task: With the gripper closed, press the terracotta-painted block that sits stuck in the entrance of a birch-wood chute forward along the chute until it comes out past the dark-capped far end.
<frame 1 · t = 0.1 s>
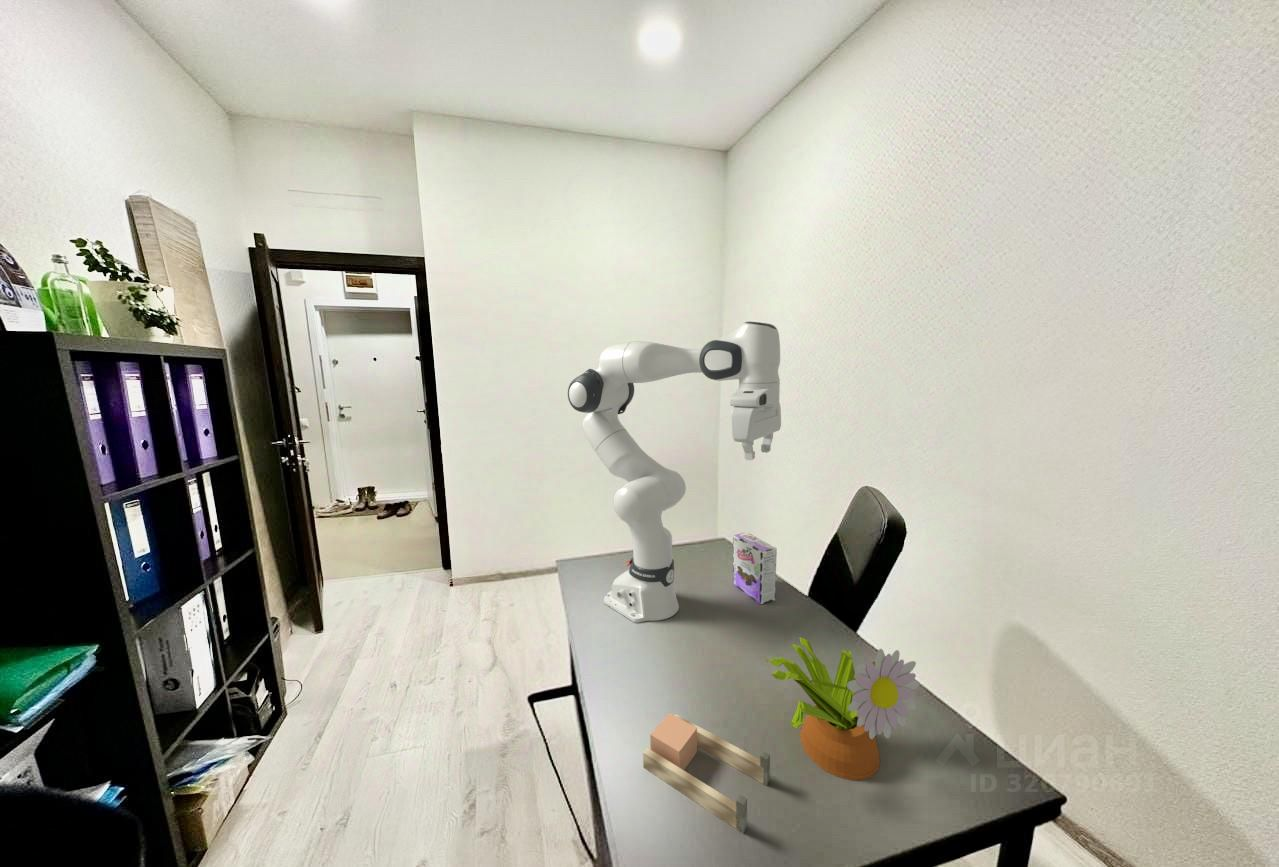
hand: (758, 455, 101), 48 cm above the table, fingers open, 8 cm apart
block: (674, 755, 79), on the table
candy box: (753, 592, 134), on the table
chute: (703, 772, 75), on the table
decorative plant: (839, 740, 81), on the table
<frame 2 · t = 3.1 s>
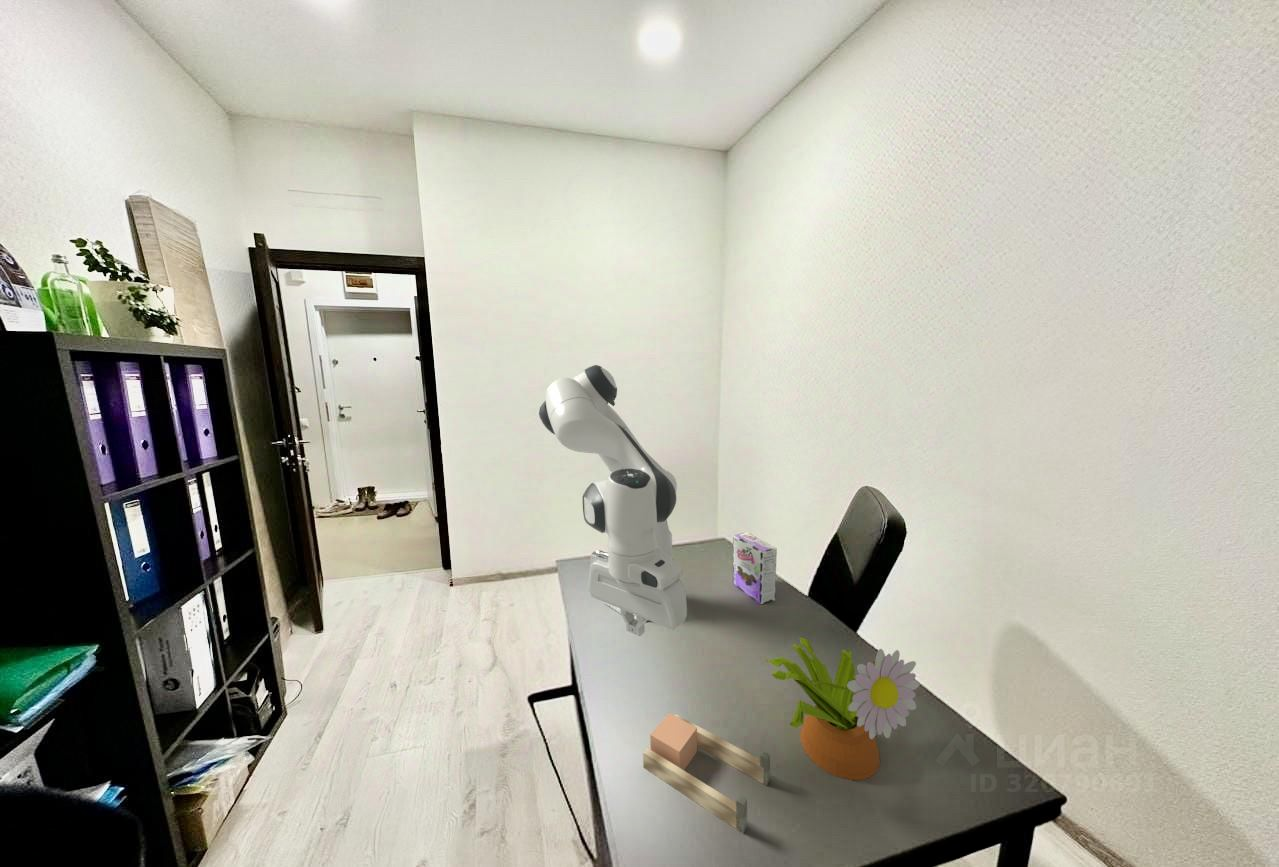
hand: (635, 632, 80), 21 cm above the table, fingers closed
nothing on the table moved.
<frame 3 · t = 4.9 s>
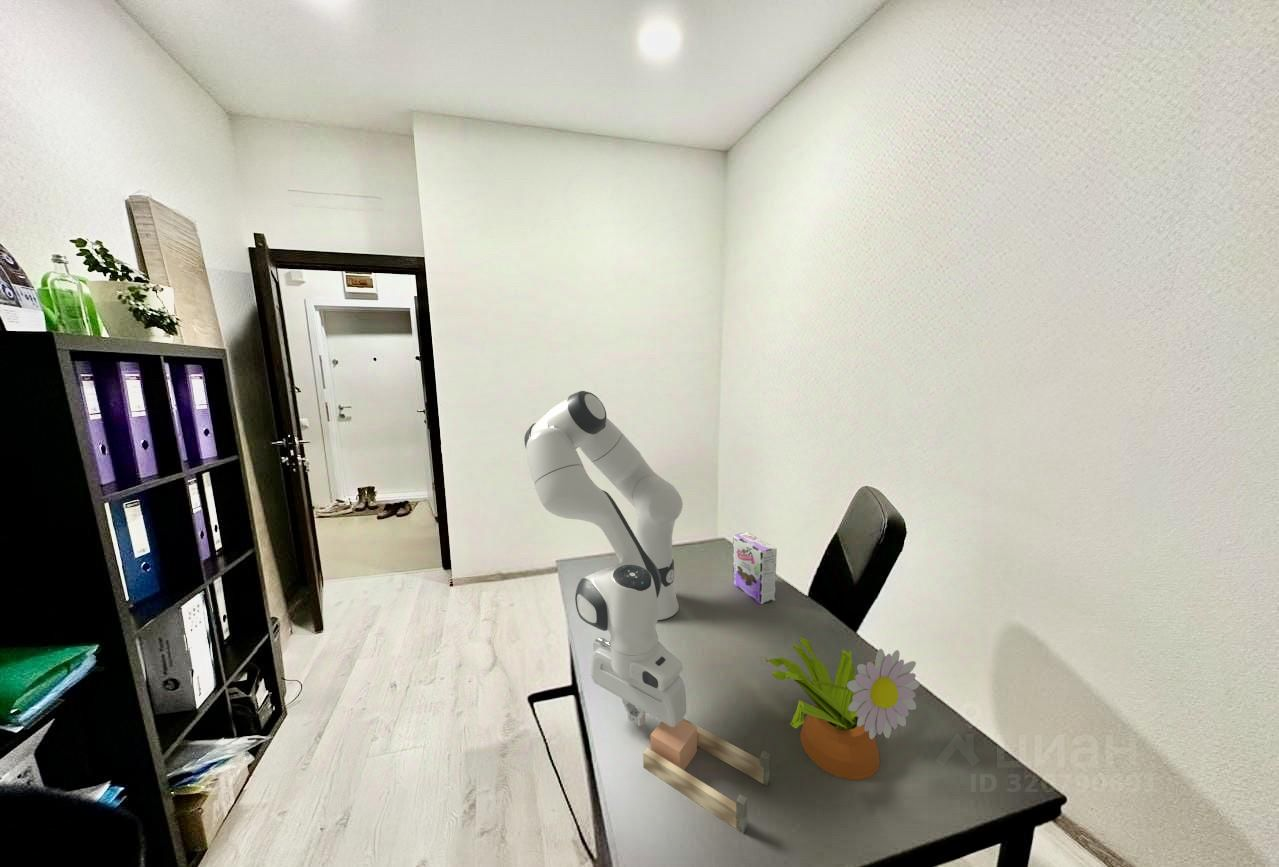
hand: (636, 720, 83), 3 cm above the table, fingers closed
nothing on the table moved.
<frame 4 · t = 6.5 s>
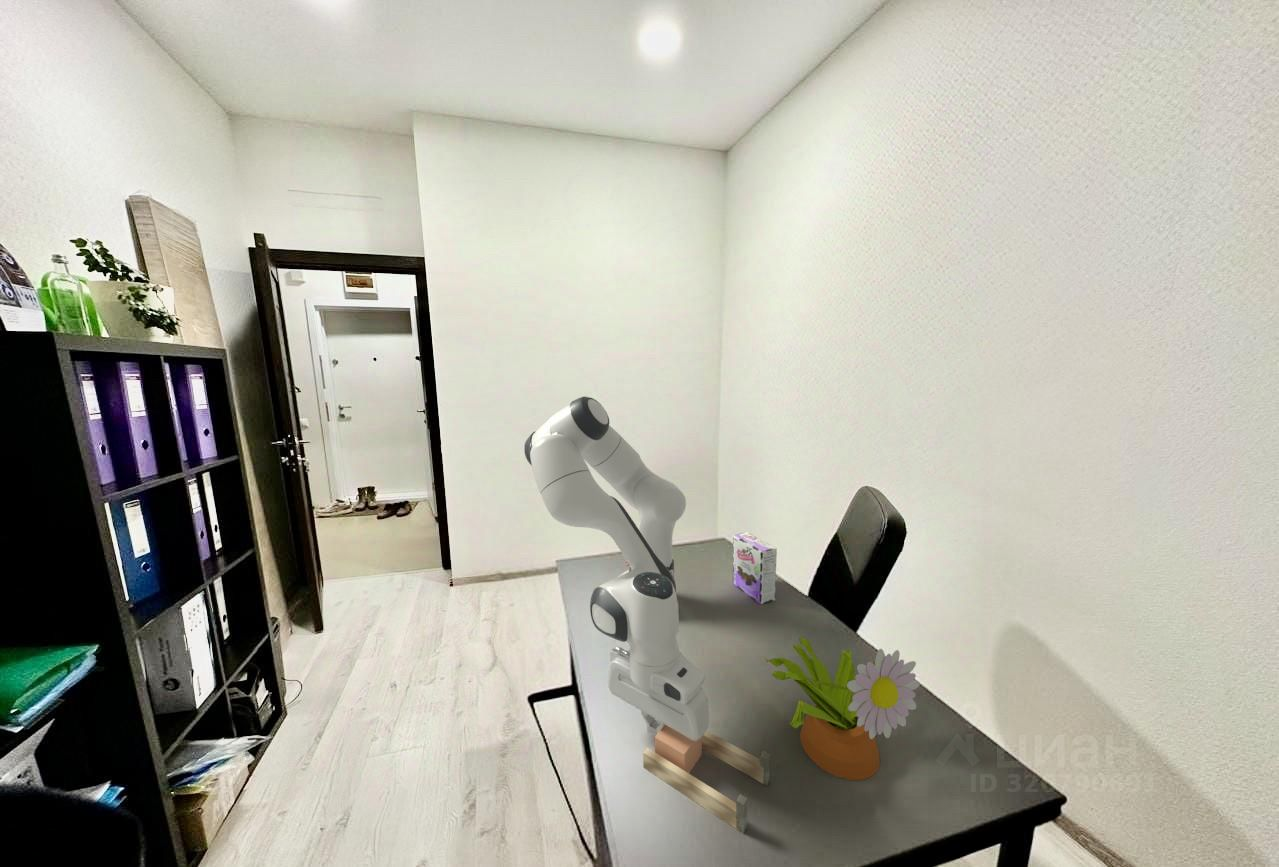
hand: (655, 733, 81), 3 cm above the table, fingers closed
block: (678, 758, 78), on the table, touching gripper
everything else where it was.
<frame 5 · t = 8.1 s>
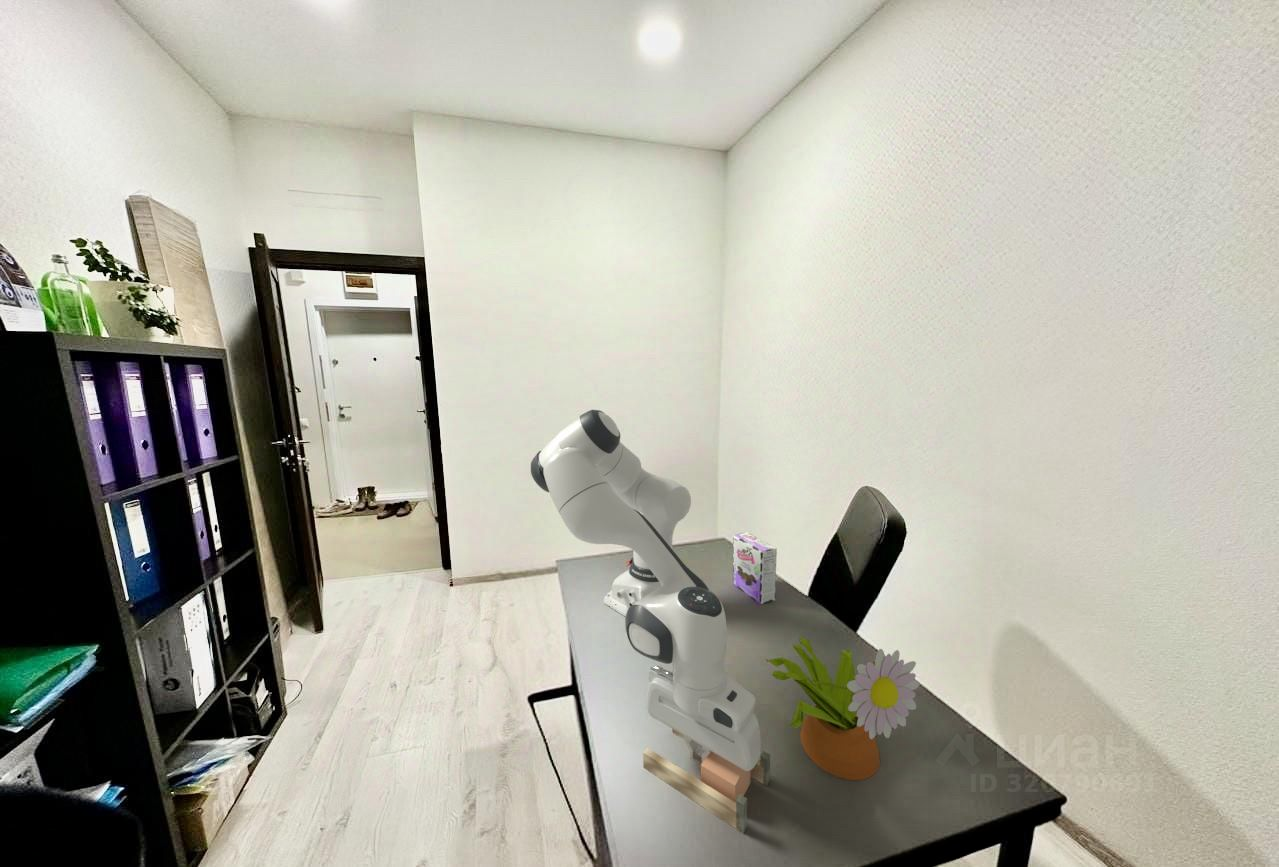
hand: (699, 759, 75), 3 cm above the table, fingers closed
block: (725, 787, 73), on the table, touching gripper
everything else where it was.
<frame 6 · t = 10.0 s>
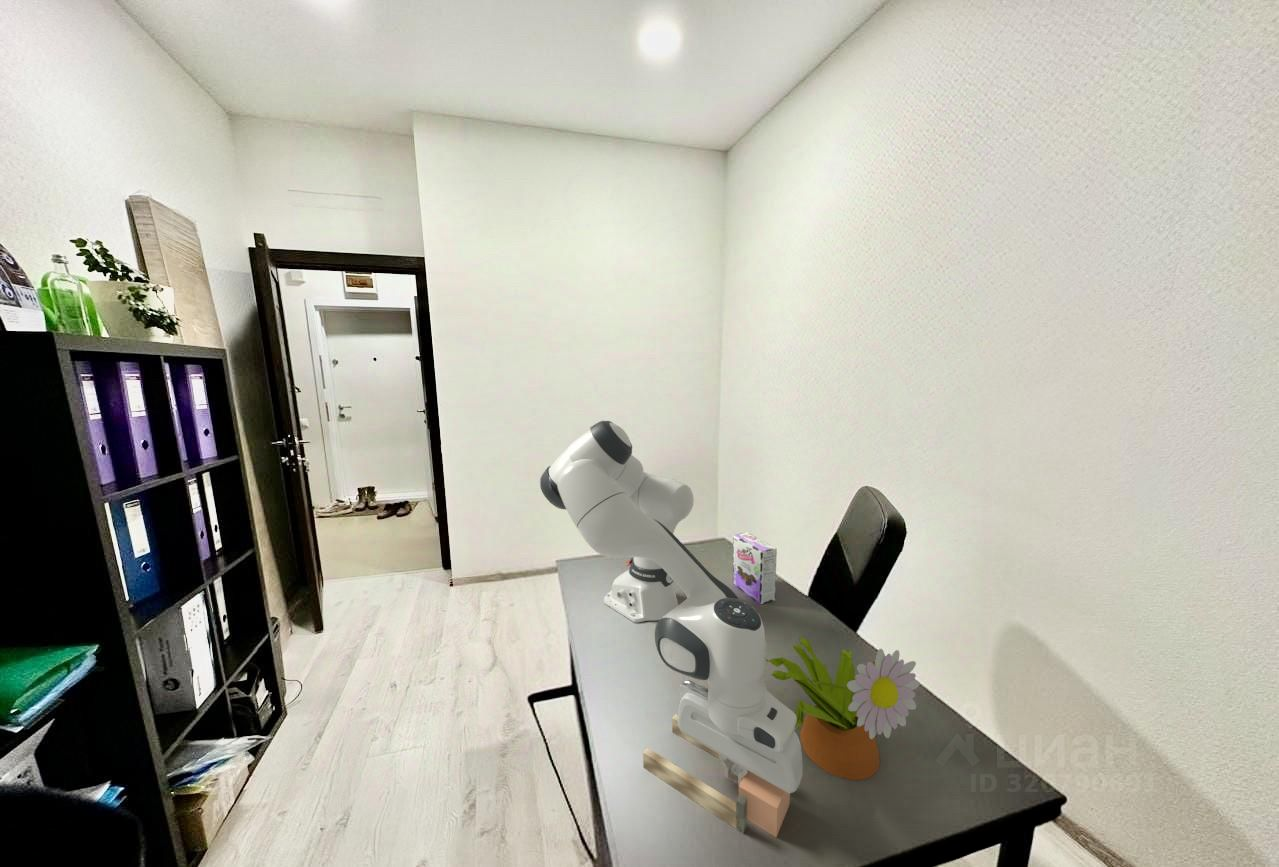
hand: (735, 779, 71), 3 cm above the table, fingers closed
block: (764, 809, 69), on the table, touching gripper
everything else where it was.
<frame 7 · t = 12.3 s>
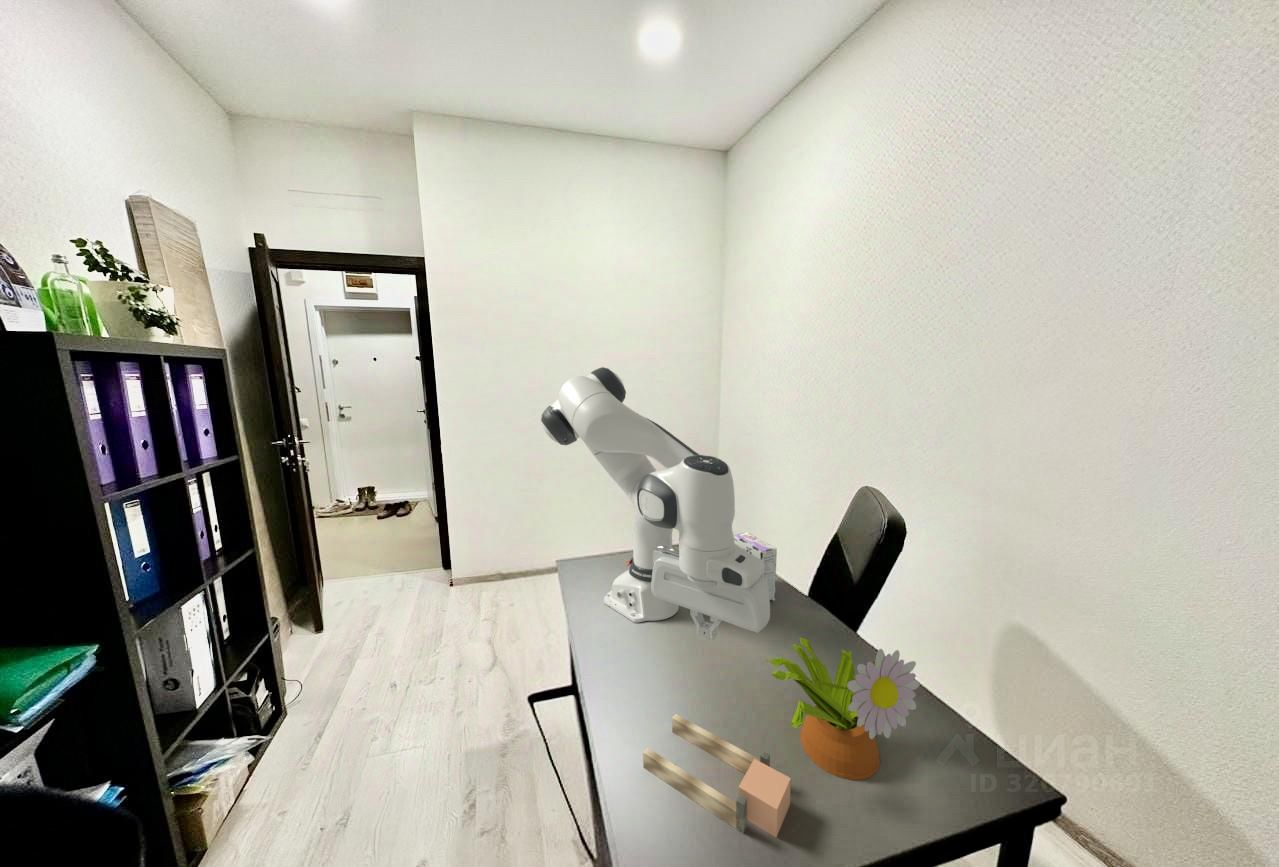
hand: (706, 635, 73), 25 cm above the table, fingers closed
block: (764, 809, 69), on the table
everything else where it was.
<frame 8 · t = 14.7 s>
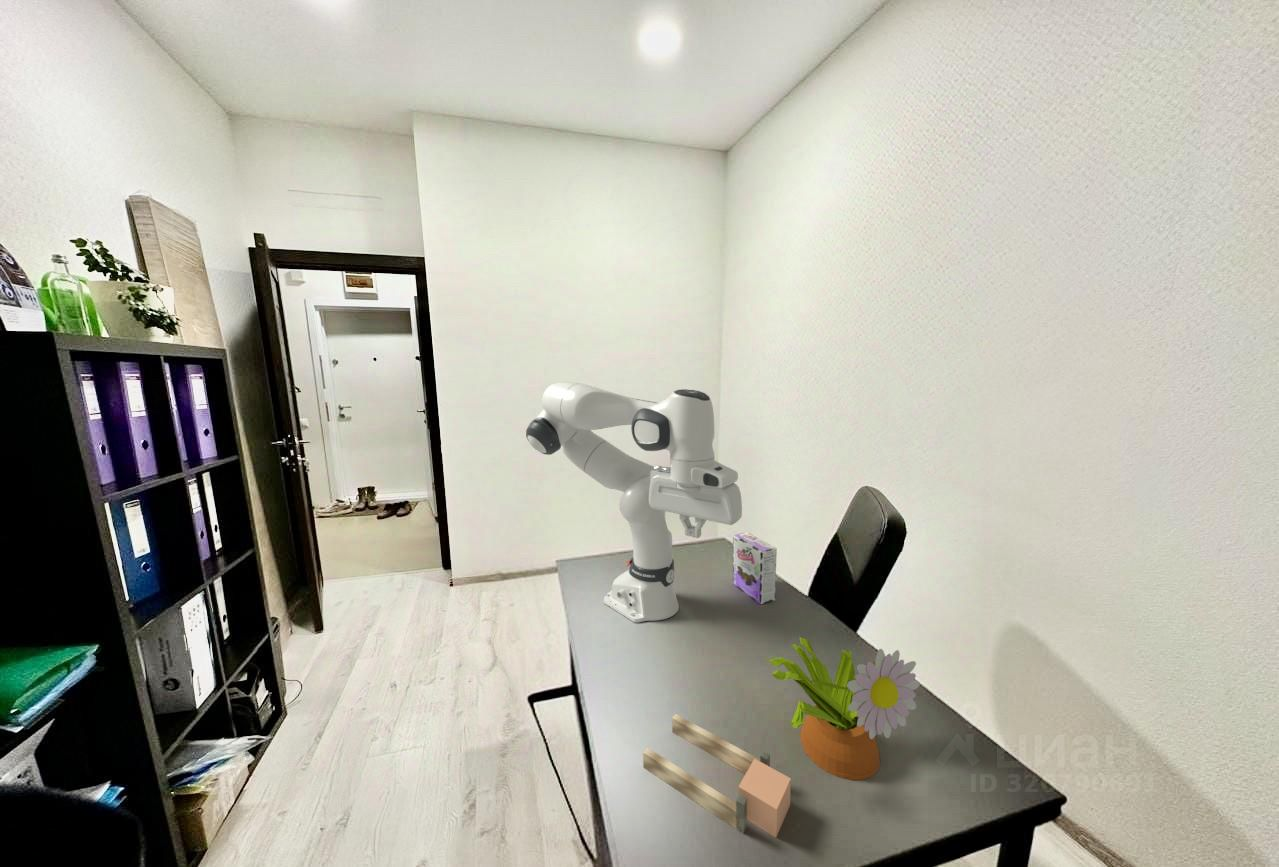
hand: (693, 535, 91), 34 cm above the table, fingers closed
nothing on the table moved.
at the end: block inside the target area (1.3 cm from its centre), on the table; block tilted 0°; block moved 16.7 cm from its start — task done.
